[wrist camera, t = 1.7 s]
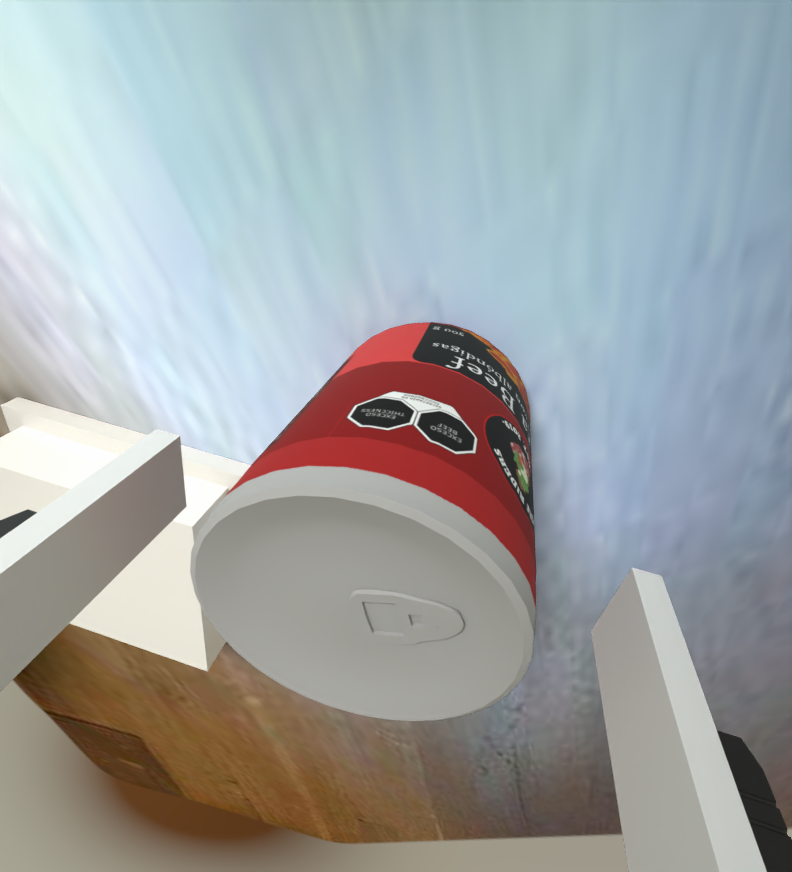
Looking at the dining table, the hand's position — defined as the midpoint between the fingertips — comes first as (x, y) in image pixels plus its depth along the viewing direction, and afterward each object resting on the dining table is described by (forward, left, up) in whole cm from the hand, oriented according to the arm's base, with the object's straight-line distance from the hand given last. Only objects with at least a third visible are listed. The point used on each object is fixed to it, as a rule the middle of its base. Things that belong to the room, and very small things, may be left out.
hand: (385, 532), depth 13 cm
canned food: (0, 0, -8) cm, 8 cm away
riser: (+13, -15, -8) cm, 21 cm away
